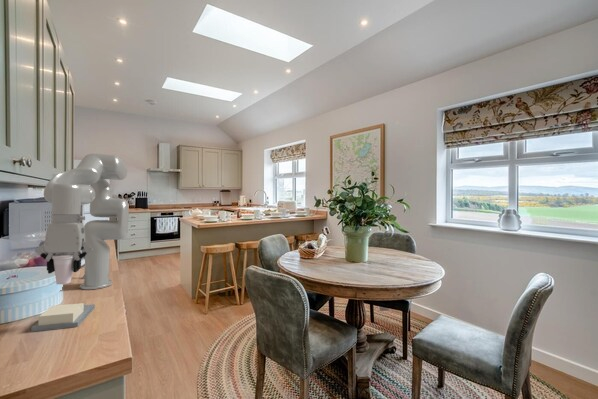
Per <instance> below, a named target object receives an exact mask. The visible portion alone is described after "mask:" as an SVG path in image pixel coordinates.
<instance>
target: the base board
mask: <svg viewBox="0 0 598 399" xmlns="http://www.w3.org/2000/svg"><path fill="white" fill-rule="evenodd" d="M95 307H96V305H95V303H93V304H92V303H91V304H85V303H84V302H82V303H70V304H69V303H68V304H57V305H52V306H50V307H49V308H48V309H46V310H45V311H44V312H43V313H42V314H40V315H38V321H37V322H36V323H35V324H33V325H32V326H31V329H30V331H31V332H32V333H33V332H41V331H42V332H43V331H49V330H58V329H67V328H68V329H71V328H78V327H79V326H80V325H81V324H82V323H83V321H84V320H86V318H87V317H88V316H89V315H90V314H91V313H92V311H93V310H94V309H95Z"/></svg>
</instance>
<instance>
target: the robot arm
mask: <svg viewBox="0 0 598 399" xmlns="http://www.w3.org/2000/svg"><path fill="white" fill-rule="evenodd" d="M127 174H128V169H127V166H126V164H125V162H124V160H122V158H120V157H119V156H117V155H115V154H103V153H89V154H86V155H84V157H83V158H82V159H81V161H80V162H79V164H77V166H76V167H75V168H72V169H68V170H65V171H63V172H62V171H61V172H60V173H57V174H56V175H53V176H52V177H51V178H50V180H49V181H48V182H47V184H46V186H45V187H44V190H43V197H44V200H45V201H46V202H48V203H50V204H51V217H50V218H51V219H50V220H51V223H48V225H47V229H46V232H45V237H44V238H45V239H44V243H42V244H41V245H40V246H39V247H37V248H36V249H35V250H34V253H36V254H38V255H39V256H40V257H41V258H42V259H43V260H44V261H45V262H46V271H47V273H48V274H52V273H55V269H54V260H53V259H52V256H53V255H55V254H60V253H73V255H74V257H75V261H74V262H73V272H72V273H77V272H79V270H80V269H81V268H82V259H84V258H83V257H84V256H85V259H84V273H83V276H84V279H83V282H82V283H80V285H79V289H81V290H86V291H87V290H98V289H103V288H104V289H105V288H107V287H109V286H111V285H113V280H111V279H110V254H111V249H110V246H109V244H108V242H106V241H107V240H109V241H110V240H115V241H116V240H123V239H125V238H126V237H127V236H128V231H129V215H130V208H129V207H130V205H129V202H128V201H127V200H126V199H125V198H117V197H116V198H113V190H114V189H113V187H112V185H111V184H110V183H109V182H108V181H107V180H116V181H123V180H124V179H126V177H127V176H128V175H127ZM88 204H89V214H90V216H92V217H93V218H116V219H110V220H109V219H94V220H89V221H87V222H86V223H85V224H84V223H83V222H81V221H85V220H86V216H84V215H82V213H81V210H82V205H88ZM83 249H85V251H84V252H83V253H82V250H83Z"/></svg>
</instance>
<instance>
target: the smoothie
mask: <svg viewBox="0 0 598 399" xmlns="http://www.w3.org/2000/svg"><path fill="white" fill-rule="evenodd" d="M52 259H53V260H54V269H55V271H54V276H55V283H56V285H66V284H69V283H70V284H71V281H72V277H73V273H74V272H73V262H74V261H75V257H74V255H73V253H56V254H55V255H53V256H52Z"/></svg>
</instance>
